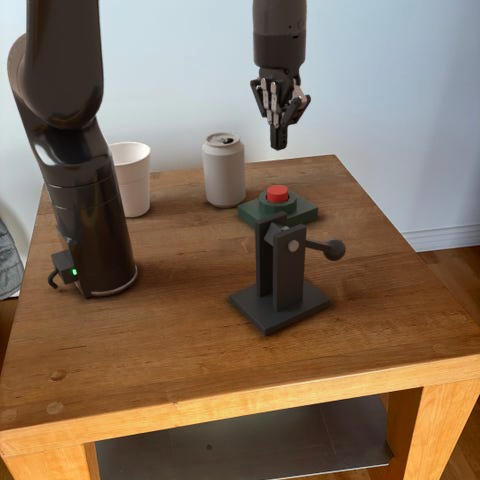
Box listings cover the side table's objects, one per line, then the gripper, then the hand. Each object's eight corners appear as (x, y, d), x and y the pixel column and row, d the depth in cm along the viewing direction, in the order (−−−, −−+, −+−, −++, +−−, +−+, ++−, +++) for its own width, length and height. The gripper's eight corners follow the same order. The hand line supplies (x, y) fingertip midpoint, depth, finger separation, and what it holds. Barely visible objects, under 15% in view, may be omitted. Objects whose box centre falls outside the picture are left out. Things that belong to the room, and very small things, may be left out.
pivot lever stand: (291, 275, 76) (294, 197, 67) (330, 306, 70) (338, 225, 61) (229, 301, 71) (223, 222, 63) (264, 336, 65) (264, 254, 57)
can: (241, 211, 91) (239, 146, 83) (202, 208, 92) (195, 144, 85) (249, 192, 97) (247, 130, 89) (211, 190, 98) (206, 128, 90)
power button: (275, 206, 85) (275, 196, 84) (263, 198, 87) (263, 188, 86) (292, 200, 86) (292, 190, 85) (279, 192, 88) (280, 183, 87)
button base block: (266, 237, 84) (266, 216, 81) (237, 216, 90) (236, 195, 87) (317, 218, 88) (319, 197, 85) (287, 199, 94) (287, 179, 91)
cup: (161, 220, 90) (151, 161, 83) (105, 226, 89) (90, 167, 82) (159, 195, 97) (150, 139, 90) (107, 200, 96) (94, 144, 89)
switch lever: (328, 256, 73) (338, 236, 72) (343, 266, 71) (354, 246, 70) (260, 240, 64) (270, 217, 63) (274, 251, 62) (285, 228, 61)
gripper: (231, 23, 72) (237, 141, 84) (285, 39, 64) (284, 168, 75) (274, 15, 75) (274, 131, 87) (331, 29, 67) (323, 155, 78)
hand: (278, 148), depth 81 cm, fingers closed
